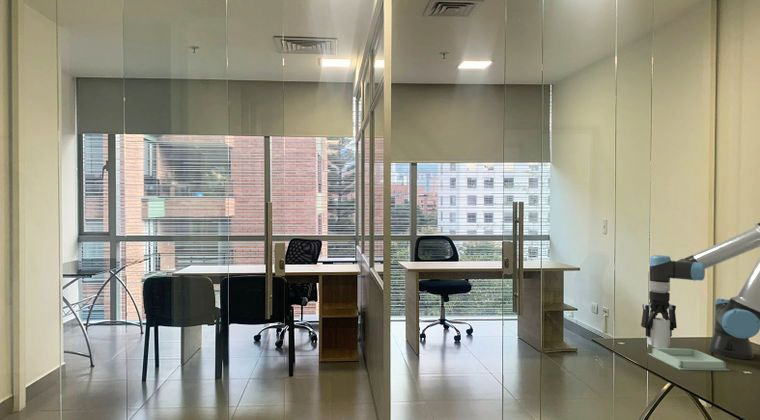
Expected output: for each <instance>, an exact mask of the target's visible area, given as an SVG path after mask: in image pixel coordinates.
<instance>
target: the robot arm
mask: <svg viewBox="0 0 760 420" xmlns="http://www.w3.org/2000/svg"><path fill="white" fill-rule="evenodd" d="M757 248H760V222H758V223H756V224H755V225H754V227H753V228H751V229H748V230H746V231H744V232H742V233H740V234H737V235H735V236H732V237H730V238H728V239H726V240H724V241H721V242H719V243H717V244H714V245H712V246H710V247H707V248H705V249H703V250H700V251H698V252H696V253H694V254H691V255H689V256H687V257H685V258H680V259H678V260H672V259H671V257H670V255H662V254H661V255H657V254H652V255H651V256H650V258H649V285H648V287H649V289H648V290H649V295H648V297H649V302H648V303H647V304H645V303H643V304H642V310H643V311H642V315H641V323H640V325H641V328H645V336H646V343H647V345H650V346H651V345H653V330H652V329H651V328H652V326H653V319H655V318H657V316H658V315H659V314H661V316H662V317H661V318H664V319H665V320H666V321H667V320H670V331H669V346H671V338H672V337H673V334H672V333H673V331H674V330H675V329H677V318H676V309H677V305H674V304H670V297H671V296H670V295H671V293H670V291H671V279H677V280H689V281H694V282H695V281H704V279H705V276H706V269H709V268H711V267H714V266H716V265H719V264H721V263H723V262H727V261H729V260H731V259H733V258H736V257H739V256H740V255H742V254H743V255H744V254H745V253H747V252H750V251H752V250H754V249H757ZM714 307H715V308H714V309H715V310H714V329H713V330H714V331H713V332H714V333H713V335H712V337H711V340H710V342H709V343H708V351H709V352H711V353H713V354H716V355H719V356H722V357H728V358H732V359H738V360H739V359H741V360H752V359H754V357H755V355H754V352H755V351H754V350H753V348H752V344H751V340H750V339H751V338H753V337H755V336H756V335H757V334H758V333H759V332H760V257H759V258H758V260H757V262H756V264H755V265H754V267H753V269H752V270H751V271H750V274H749V275H748V277H747V279H746V281H745V282H744V284H743V286H742V288H741V289H740V290H739V292H738V294H737V295H736V296H732V297H730V299H726V298H716V299H715V304H714Z"/></svg>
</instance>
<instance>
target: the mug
mask: <svg viewBox="0 0 760 420" xmlns="http://www.w3.org/2000/svg"><path fill="white" fill-rule="evenodd" d="M651 329H652V330H653V345H650V346H651V347H653V348H670V347H669V346H670V345H669V331H670V320H667V321H666V320H665V319H664V318H663V317H656V318H655V319H653V326H652V328H651Z"/></svg>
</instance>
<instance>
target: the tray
mask: <svg viewBox="0 0 760 420" xmlns="http://www.w3.org/2000/svg"><path fill="white" fill-rule="evenodd" d="M648 354H649V355H648ZM647 355H648V356H650V355H651V357H653V358H654V359H657V360H659V361H661V362H663V363H665V364H667V365H669V366H671V367H673V368H675V369H678V370H679V371H726V372H727V371H729V372H730V371H731V369H729V368H727V367H726V365H727V364H726V363H727V362H726V361H725V360H722V359H720V358H717V357H714V356H713V355H709V354H707V353H705V352H703V351H699V350H697V349H695V348H673V347H672V348H671V347H669V348H655V347H653V348H651V353H649V352H647Z"/></svg>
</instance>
